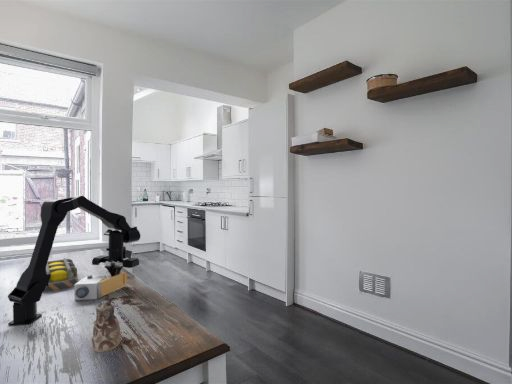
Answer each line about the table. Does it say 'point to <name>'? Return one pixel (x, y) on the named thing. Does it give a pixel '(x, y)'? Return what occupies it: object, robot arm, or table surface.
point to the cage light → (61, 274)
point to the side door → (111, 284)
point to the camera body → (87, 287)
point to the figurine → (105, 328)
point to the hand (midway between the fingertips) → (115, 281)
